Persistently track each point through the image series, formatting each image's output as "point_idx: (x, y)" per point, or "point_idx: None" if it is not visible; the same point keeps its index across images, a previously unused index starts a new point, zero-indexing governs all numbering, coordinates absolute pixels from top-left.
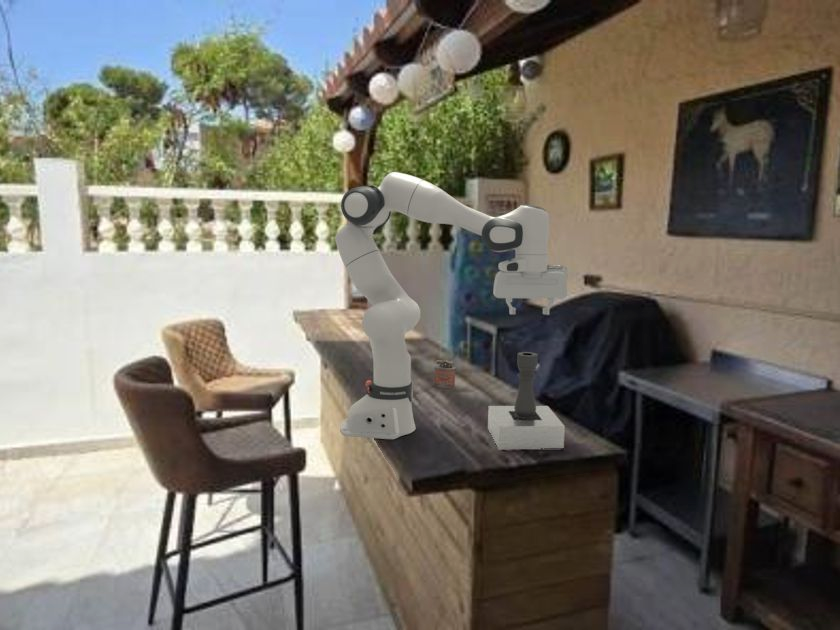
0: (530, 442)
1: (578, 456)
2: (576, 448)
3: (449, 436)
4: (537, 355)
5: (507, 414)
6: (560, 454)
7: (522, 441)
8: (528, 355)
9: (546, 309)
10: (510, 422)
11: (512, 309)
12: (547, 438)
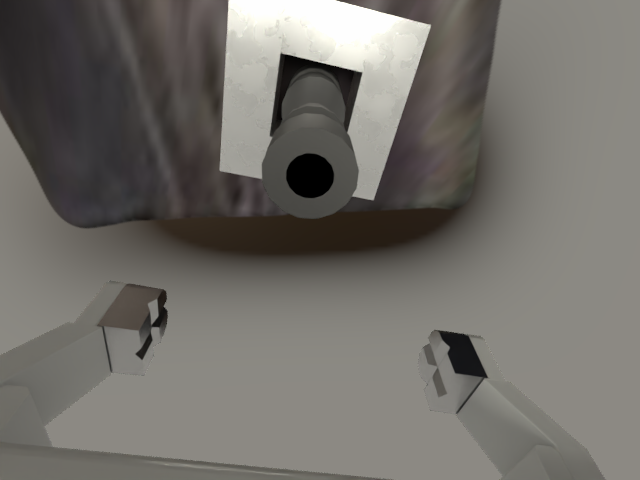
0: None
1: (378, 206)
2: (399, 171)
3: (124, 26)
4: (347, 202)
5: (267, 85)
6: None
7: None
8: (303, 200)
9: (445, 405)
10: (255, 151)
11: (112, 360)
12: None
